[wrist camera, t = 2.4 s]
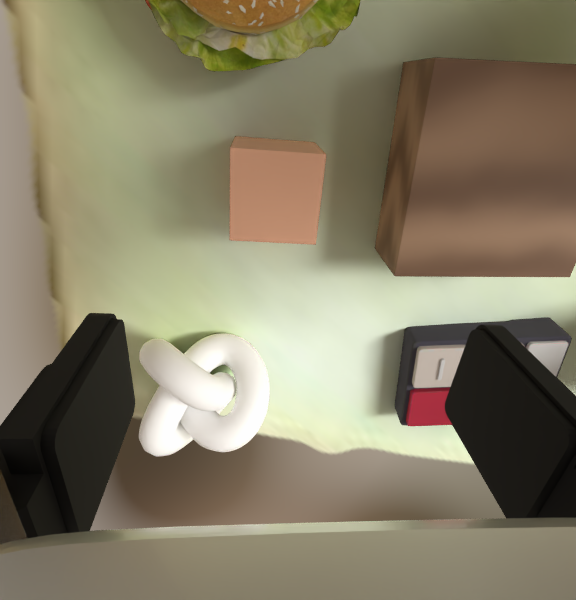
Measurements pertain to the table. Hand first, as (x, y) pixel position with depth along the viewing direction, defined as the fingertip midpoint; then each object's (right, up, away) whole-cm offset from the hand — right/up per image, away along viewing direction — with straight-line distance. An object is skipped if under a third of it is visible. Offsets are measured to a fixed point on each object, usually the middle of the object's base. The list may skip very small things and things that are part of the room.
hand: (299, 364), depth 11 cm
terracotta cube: (-1, +11, +20) cm, 23 cm away
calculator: (+19, -5, +32) cm, 37 cm away
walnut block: (+15, +13, +21) cm, 29 cm away
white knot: (-8, -4, +29) cm, 30 cm away
